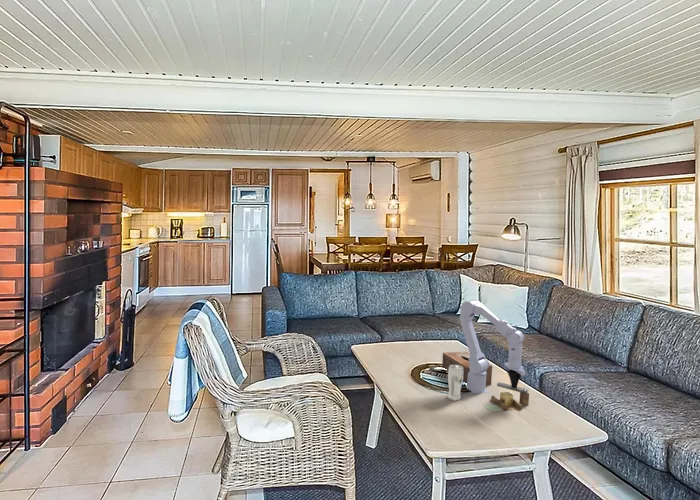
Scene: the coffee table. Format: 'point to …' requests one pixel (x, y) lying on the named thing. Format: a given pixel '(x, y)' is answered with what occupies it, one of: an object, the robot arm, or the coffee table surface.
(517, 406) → the body
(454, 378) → the beer glass
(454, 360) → the tissue box cover
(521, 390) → the lever
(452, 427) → the coffee table surface
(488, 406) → the pad
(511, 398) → the tan cube
